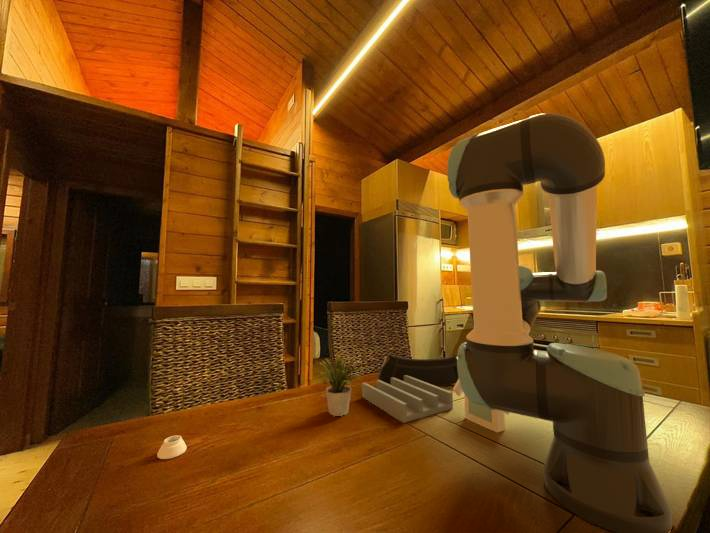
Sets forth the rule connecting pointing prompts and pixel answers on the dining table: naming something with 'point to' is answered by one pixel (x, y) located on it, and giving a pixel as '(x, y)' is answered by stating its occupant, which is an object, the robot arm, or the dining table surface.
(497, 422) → the picture frame
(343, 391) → the house plant
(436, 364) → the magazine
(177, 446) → the upturned cream bowl
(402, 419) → the notched rack
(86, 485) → the dining table surface
